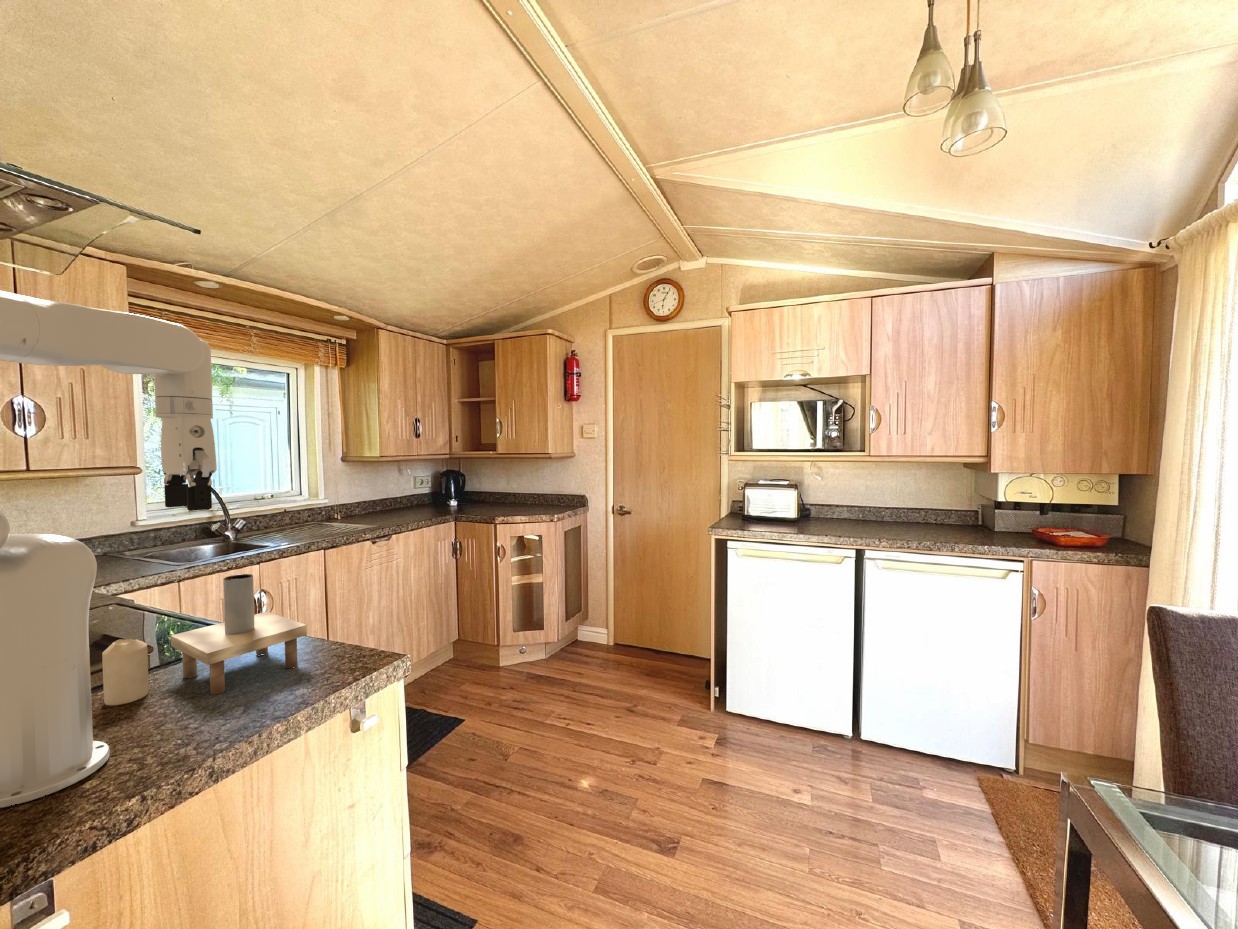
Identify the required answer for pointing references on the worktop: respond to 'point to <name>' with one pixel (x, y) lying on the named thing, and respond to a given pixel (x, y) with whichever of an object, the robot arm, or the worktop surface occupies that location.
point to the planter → (238, 603)
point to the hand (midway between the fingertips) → (188, 508)
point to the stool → (236, 645)
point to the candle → (125, 672)
